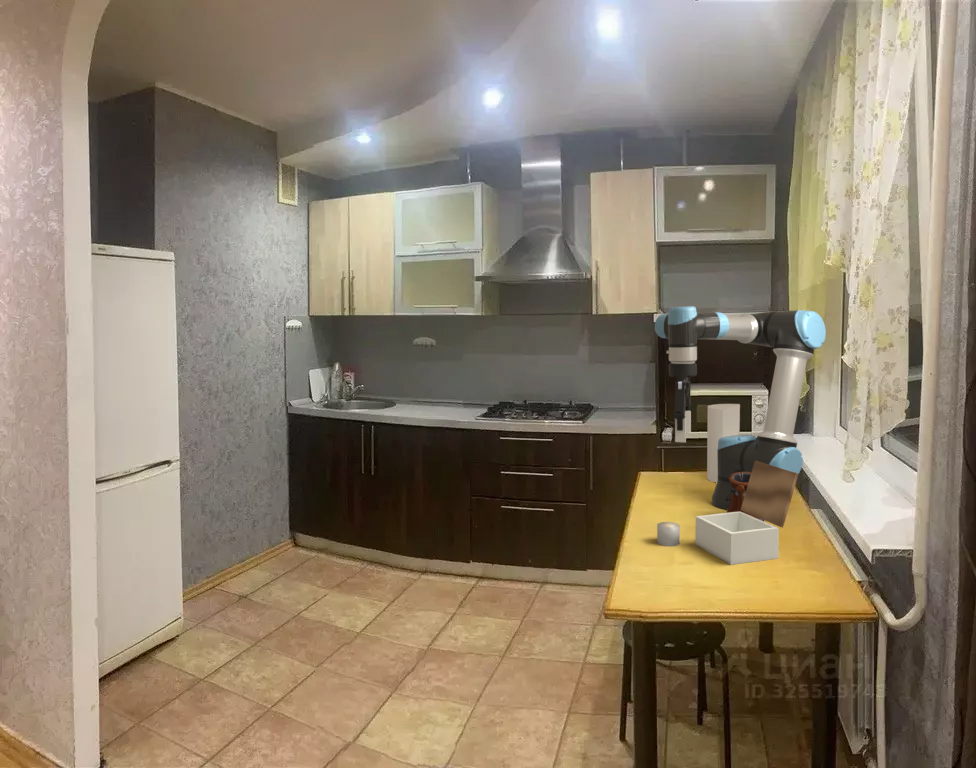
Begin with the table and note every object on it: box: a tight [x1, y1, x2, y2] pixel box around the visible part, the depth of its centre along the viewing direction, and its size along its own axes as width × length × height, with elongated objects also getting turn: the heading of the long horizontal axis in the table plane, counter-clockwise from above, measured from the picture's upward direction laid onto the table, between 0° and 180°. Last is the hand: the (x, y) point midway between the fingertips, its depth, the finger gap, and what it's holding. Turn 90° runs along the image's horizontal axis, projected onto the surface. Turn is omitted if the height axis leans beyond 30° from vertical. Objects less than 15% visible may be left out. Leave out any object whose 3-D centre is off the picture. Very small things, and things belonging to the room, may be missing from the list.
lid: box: [741, 461, 799, 528], centre depth 180 cm, size 14×16×1 cm
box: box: [695, 511, 780, 566], centre depth 179 cm, size 14×16×8 cm
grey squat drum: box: [656, 521, 681, 547], centre depth 187 cm, size 6×6×5 cm
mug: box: [726, 472, 765, 522], centre depth 199 cm, size 18×12×15 cm, turn 153°
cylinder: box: [706, 403, 741, 483], centre depth 255 cm, size 17×17×28 cm
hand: (683, 437), depth 189 cm, fingers open, 13 cm apart
